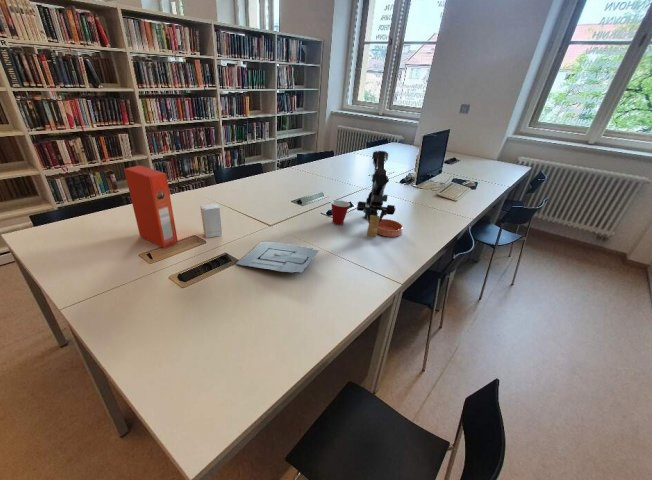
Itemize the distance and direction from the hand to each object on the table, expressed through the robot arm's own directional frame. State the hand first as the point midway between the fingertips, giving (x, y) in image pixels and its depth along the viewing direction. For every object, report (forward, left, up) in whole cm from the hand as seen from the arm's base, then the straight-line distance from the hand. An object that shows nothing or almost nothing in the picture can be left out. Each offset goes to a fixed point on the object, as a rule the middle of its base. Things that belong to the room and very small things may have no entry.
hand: (373, 223), depth 160 cm
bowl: (+5, +15, -9) cm, 18 cm away
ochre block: (0, +1, -7) cm, 7 cm away
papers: (-30, -43, -9) cm, 53 cm away
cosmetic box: (-70, -38, -9) cm, 80 cm away
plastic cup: (-22, +11, -9) cm, 26 cm away
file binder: (-87, -56, -9) cm, 104 cm away
